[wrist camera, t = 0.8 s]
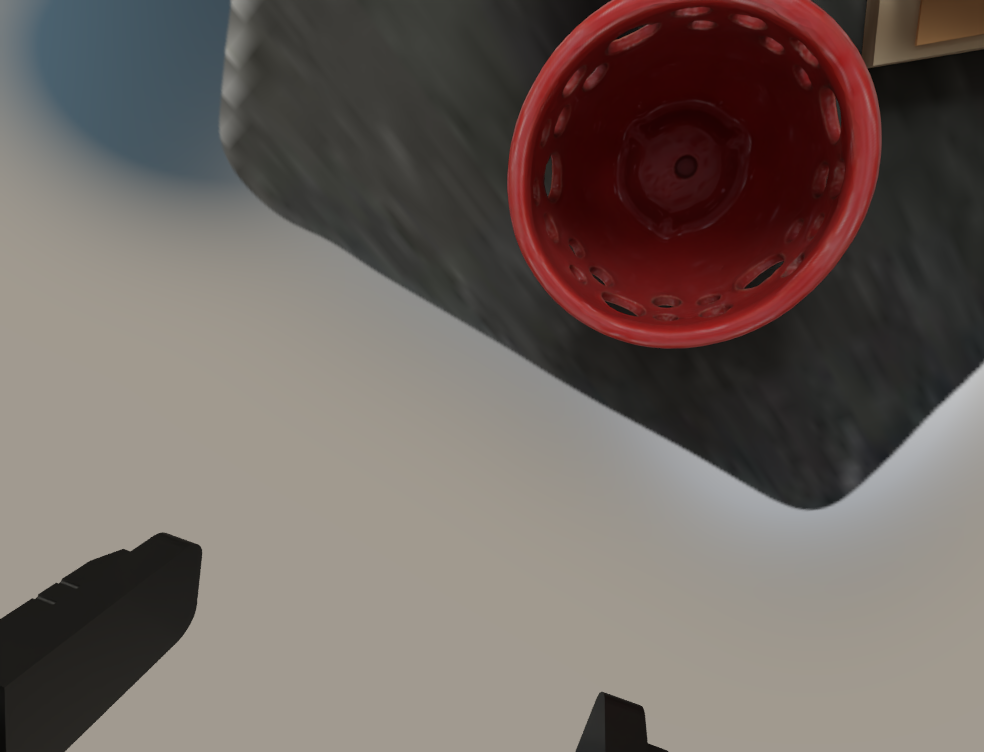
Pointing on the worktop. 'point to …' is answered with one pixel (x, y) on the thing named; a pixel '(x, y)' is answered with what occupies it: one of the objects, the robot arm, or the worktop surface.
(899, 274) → the worktop surface
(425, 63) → the worktop surface
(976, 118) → the worktop surface
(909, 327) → the worktop surface
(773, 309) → the plant pot
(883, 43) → the switch plate
